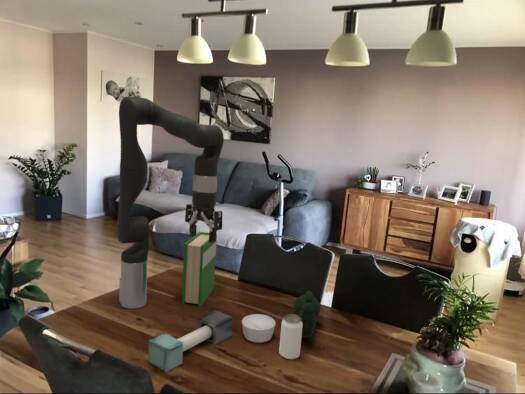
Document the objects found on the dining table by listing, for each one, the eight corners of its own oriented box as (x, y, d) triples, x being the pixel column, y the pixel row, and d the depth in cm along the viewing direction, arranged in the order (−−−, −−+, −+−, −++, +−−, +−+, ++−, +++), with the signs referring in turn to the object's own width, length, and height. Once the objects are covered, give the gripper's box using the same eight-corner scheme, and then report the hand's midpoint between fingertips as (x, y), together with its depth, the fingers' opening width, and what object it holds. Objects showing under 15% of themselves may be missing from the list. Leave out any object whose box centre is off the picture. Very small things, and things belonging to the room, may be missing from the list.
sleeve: (198, 336, 137) (199, 317, 136) (215, 327, 143) (216, 309, 142) (215, 344, 132) (216, 325, 131) (231, 335, 139) (233, 317, 138)
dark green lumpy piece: (318, 355, 134) (318, 314, 158) (324, 302, 129) (323, 268, 153) (289, 351, 135) (293, 311, 159) (293, 298, 130) (297, 265, 154)
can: (298, 361, 126) (302, 324, 124) (277, 357, 128) (280, 321, 125) (300, 350, 133) (304, 315, 131) (280, 347, 134) (283, 312, 132)
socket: (148, 361, 121) (148, 340, 120) (164, 353, 126) (165, 333, 124) (166, 372, 116) (166, 350, 115) (182, 363, 121) (183, 342, 120)
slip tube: (160, 356, 122) (161, 343, 121) (213, 329, 140) (213, 318, 139) (170, 361, 120) (170, 348, 119) (222, 334, 137) (222, 322, 136)
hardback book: (200, 306, 158) (203, 245, 154) (181, 304, 159) (184, 243, 155) (213, 289, 175) (216, 233, 171) (196, 286, 176) (199, 231, 172)
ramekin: (235, 339, 136) (236, 324, 136) (248, 325, 147) (249, 311, 146) (267, 348, 133) (269, 332, 132) (278, 332, 143) (279, 318, 142)
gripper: (180, 186, 132) (178, 236, 135) (213, 194, 124) (210, 246, 127) (197, 185, 138) (195, 232, 141) (229, 191, 130) (226, 242, 133)
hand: (202, 239), depth 134 cm, fingers open, 8 cm apart
